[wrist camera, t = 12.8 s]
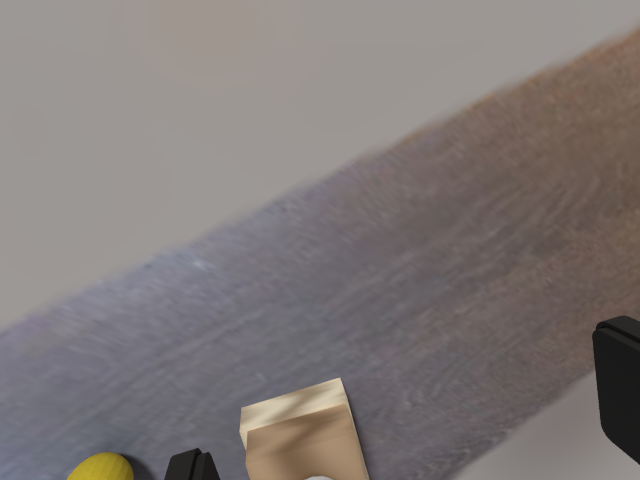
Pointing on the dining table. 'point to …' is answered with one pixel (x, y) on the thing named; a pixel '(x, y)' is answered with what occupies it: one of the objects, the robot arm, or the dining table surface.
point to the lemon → (103, 468)
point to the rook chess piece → (318, 478)
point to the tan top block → (305, 448)
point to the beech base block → (297, 408)
